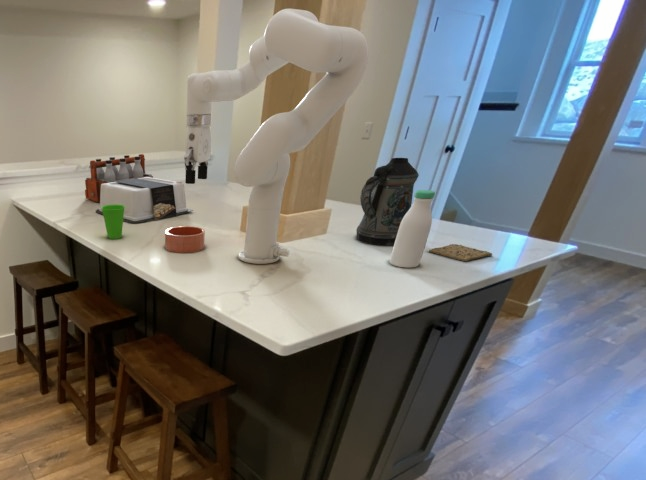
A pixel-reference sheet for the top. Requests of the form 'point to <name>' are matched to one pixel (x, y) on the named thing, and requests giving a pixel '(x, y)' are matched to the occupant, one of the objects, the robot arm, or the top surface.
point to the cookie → (460, 252)
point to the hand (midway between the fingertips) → (196, 181)
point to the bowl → (184, 239)
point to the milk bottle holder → (113, 173)
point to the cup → (113, 220)
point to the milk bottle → (413, 231)
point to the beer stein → (386, 202)
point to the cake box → (145, 198)
